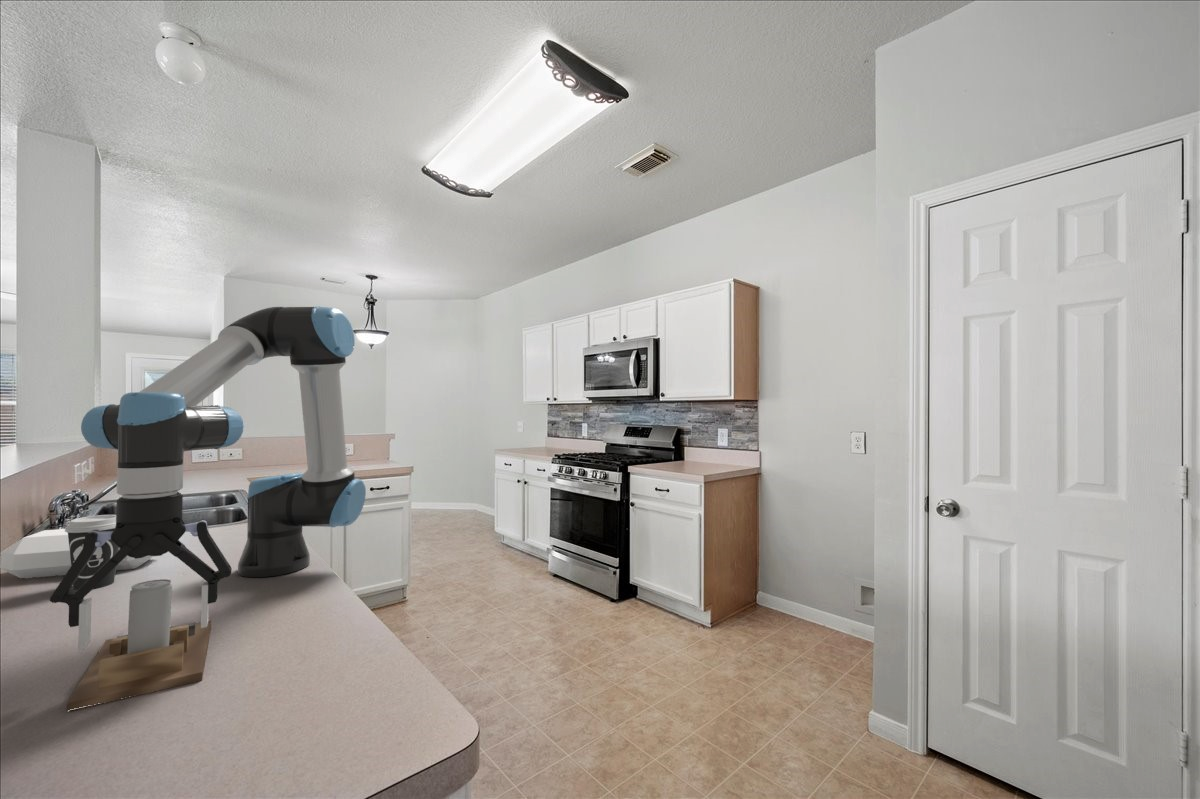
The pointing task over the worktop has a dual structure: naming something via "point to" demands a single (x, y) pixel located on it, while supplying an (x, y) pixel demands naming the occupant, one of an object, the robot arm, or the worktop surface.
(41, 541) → the crystal
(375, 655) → the worktop surface
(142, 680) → the board
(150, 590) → the beverage can
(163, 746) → the worktop surface
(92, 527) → the coffee cup
